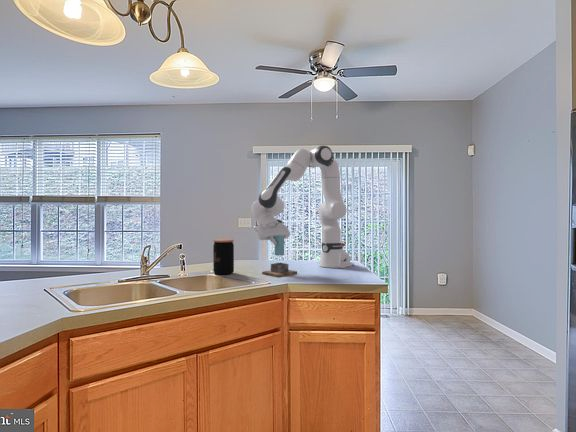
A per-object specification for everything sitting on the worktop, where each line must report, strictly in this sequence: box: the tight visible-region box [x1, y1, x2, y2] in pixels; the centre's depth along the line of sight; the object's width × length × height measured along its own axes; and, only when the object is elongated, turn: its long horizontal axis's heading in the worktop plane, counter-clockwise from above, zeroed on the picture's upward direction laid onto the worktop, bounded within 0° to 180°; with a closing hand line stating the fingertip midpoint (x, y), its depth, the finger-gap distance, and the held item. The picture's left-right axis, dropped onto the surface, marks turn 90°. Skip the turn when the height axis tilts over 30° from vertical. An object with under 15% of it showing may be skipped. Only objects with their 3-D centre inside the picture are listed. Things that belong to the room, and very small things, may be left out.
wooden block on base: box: [261, 262, 298, 278], centre depth 176 cm, size 14×12×5 cm
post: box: [274, 236, 285, 257], centre depth 176 cm, size 4×4×10 cm
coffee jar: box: [212, 238, 235, 276], centre depth 177 cm, size 11×11×18 cm
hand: (280, 244), depth 175 cm, fingers closed on post, 4 cm apart
